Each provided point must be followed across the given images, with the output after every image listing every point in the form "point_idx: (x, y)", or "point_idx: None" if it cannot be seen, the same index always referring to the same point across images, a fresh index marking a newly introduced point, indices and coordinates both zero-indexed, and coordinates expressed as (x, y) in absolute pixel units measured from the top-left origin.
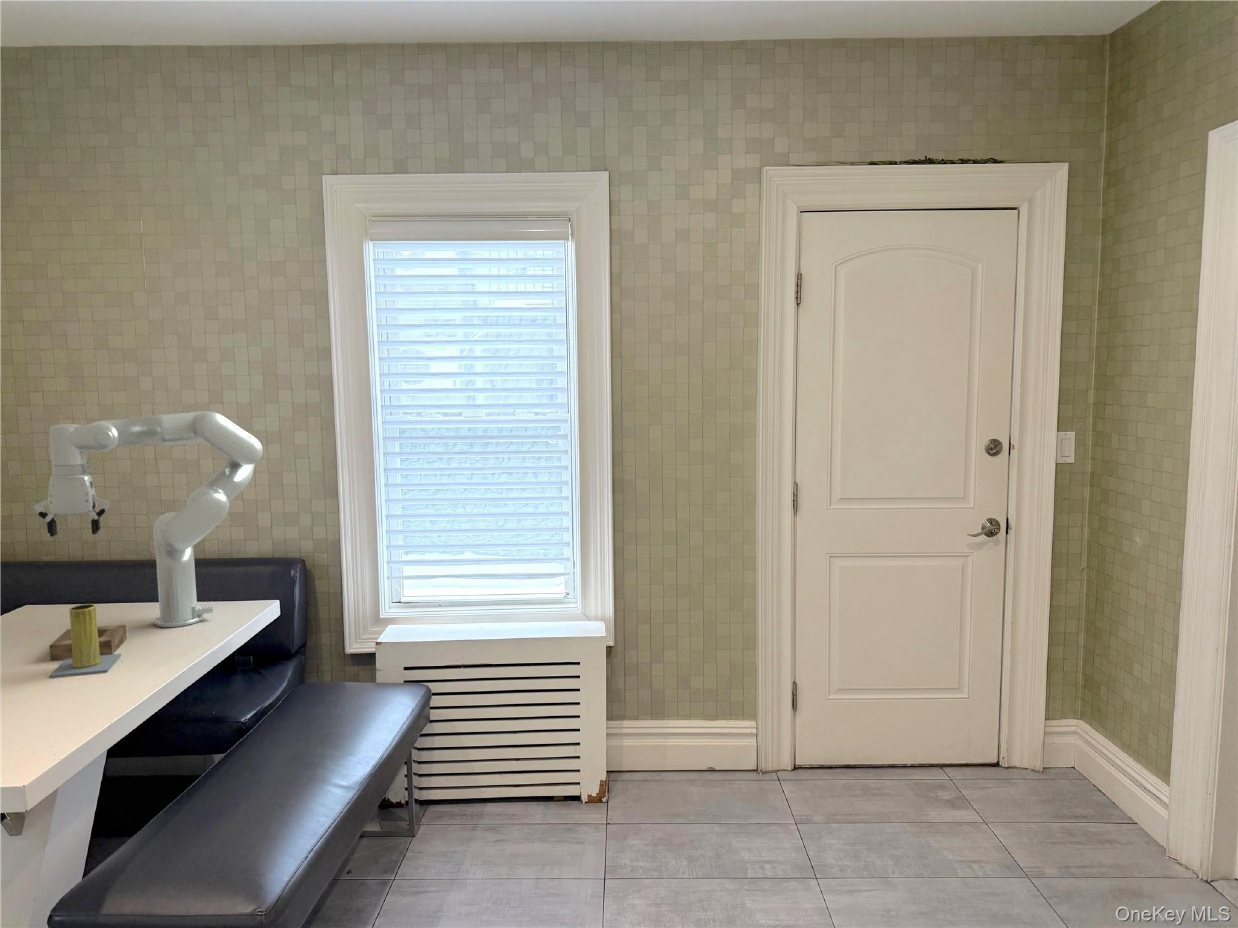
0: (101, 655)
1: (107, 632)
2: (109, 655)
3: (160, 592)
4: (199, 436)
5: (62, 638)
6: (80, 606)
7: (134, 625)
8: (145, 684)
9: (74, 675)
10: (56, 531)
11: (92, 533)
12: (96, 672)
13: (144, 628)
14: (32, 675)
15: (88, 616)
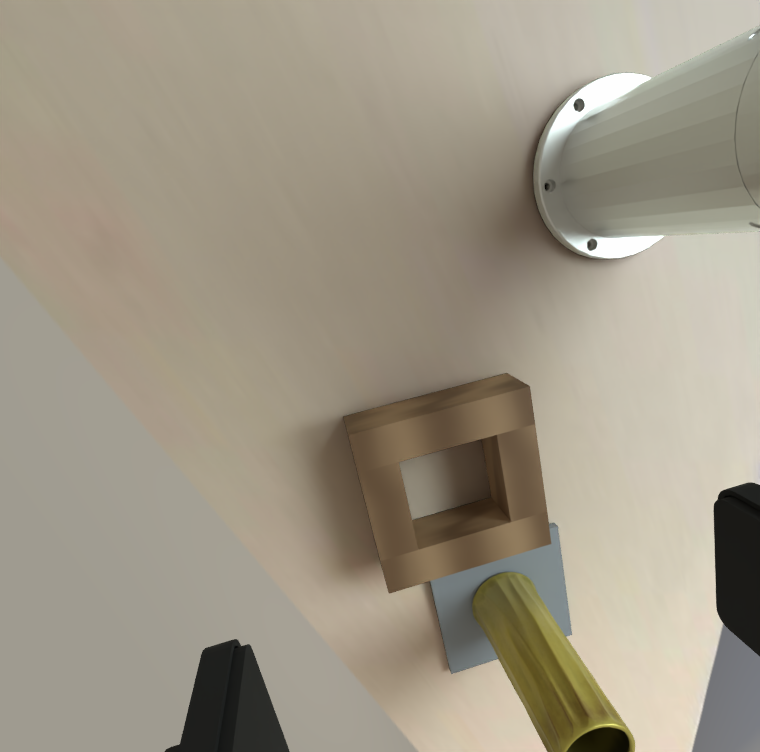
0: None
1: (507, 473)
2: None
3: (659, 215)
4: None
5: (390, 530)
6: (574, 730)
7: (467, 209)
8: (673, 686)
9: None
10: (250, 695)
11: (728, 622)
12: None
13: (518, 255)
14: (397, 655)
15: (605, 740)
